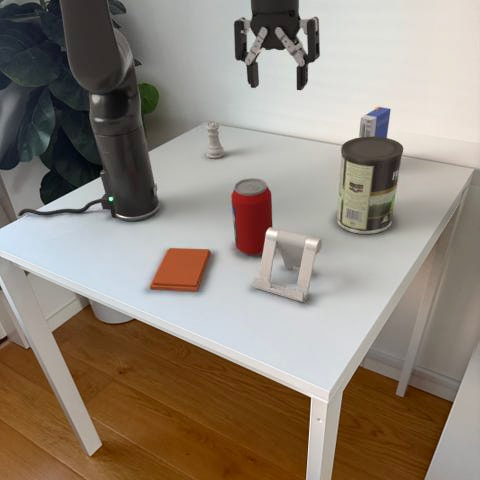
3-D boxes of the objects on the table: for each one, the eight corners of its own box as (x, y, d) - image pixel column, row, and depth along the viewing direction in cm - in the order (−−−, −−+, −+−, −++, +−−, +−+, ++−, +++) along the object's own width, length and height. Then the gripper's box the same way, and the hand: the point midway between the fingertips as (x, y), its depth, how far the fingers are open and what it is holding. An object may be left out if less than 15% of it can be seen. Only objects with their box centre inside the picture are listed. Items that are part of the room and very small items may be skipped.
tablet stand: (253, 290, 77) (250, 246, 72) (276, 264, 82) (275, 221, 77) (302, 305, 74) (303, 259, 68) (322, 277, 79) (325, 233, 73)
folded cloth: (150, 289, 80) (149, 283, 79) (168, 252, 88) (167, 246, 87) (197, 291, 78) (196, 285, 77) (211, 253, 86) (210, 248, 85)
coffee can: (391, 207, 94) (402, 135, 85) (392, 236, 86) (405, 160, 77) (337, 206, 96) (342, 135, 87) (334, 233, 88) (339, 159, 79)
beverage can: (251, 233, 90) (247, 173, 82) (280, 244, 87) (279, 182, 79) (228, 250, 87) (221, 188, 79) (257, 262, 83) (254, 199, 75)
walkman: (373, 158, 111) (379, 104, 103) (383, 161, 110) (391, 107, 102) (354, 171, 107) (359, 116, 99) (365, 174, 106) (371, 118, 98)
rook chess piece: (228, 153, 119) (225, 120, 114) (218, 160, 117) (214, 127, 111) (213, 150, 121) (209, 118, 116) (203, 157, 119) (199, 124, 113)
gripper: (221, -20, 73) (231, 93, 84) (311, -24, 68) (309, 96, 78) (241, -28, 78) (248, 80, 89) (326, -32, 73) (323, 83, 83)
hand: (277, 87), depth 84 cm, fingers open, 8 cm apart
